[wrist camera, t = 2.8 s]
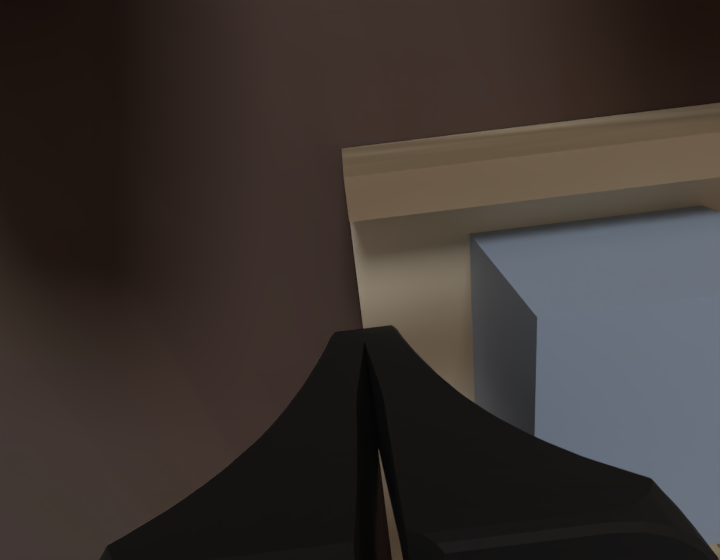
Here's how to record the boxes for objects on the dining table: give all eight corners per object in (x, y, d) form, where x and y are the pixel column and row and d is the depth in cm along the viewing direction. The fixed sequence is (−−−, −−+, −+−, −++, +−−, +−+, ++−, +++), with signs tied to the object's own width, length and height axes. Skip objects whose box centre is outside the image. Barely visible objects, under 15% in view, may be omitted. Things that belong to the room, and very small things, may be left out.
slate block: (673, 399, 13) (810, 532, 9) (475, 423, 13) (531, 566, 9) (702, 205, 11) (887, 275, 7) (469, 233, 11) (537, 317, 7)
